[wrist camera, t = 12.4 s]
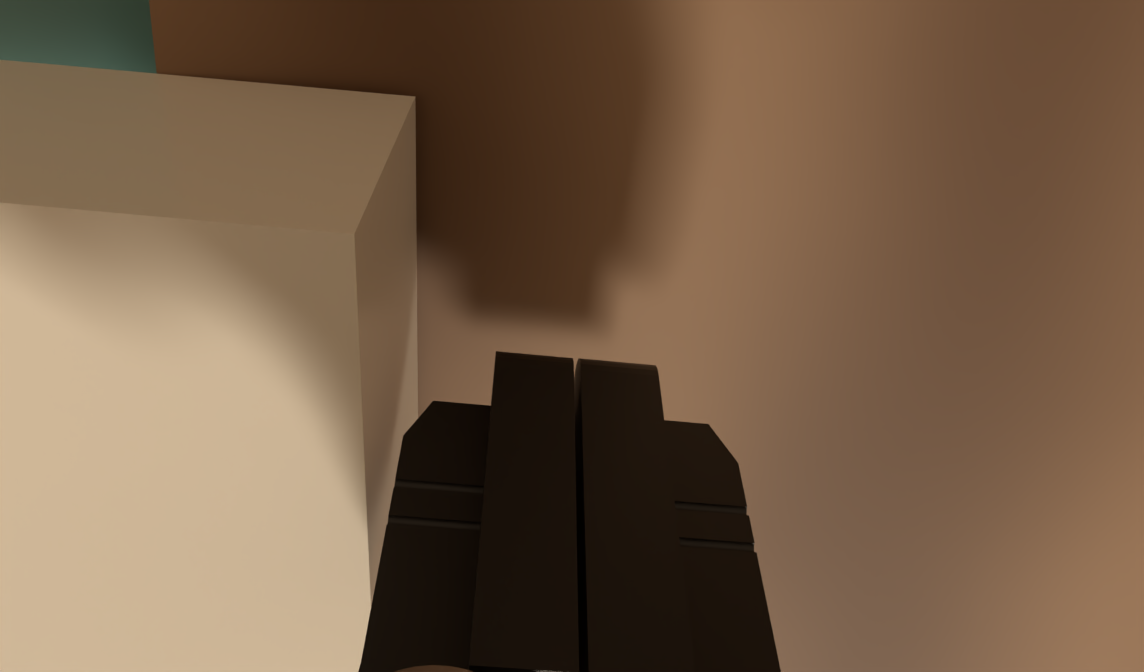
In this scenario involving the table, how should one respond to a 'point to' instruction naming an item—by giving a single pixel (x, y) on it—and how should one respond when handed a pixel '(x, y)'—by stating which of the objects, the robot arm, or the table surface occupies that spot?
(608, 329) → the walnut board
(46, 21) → the tray
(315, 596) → the tile
